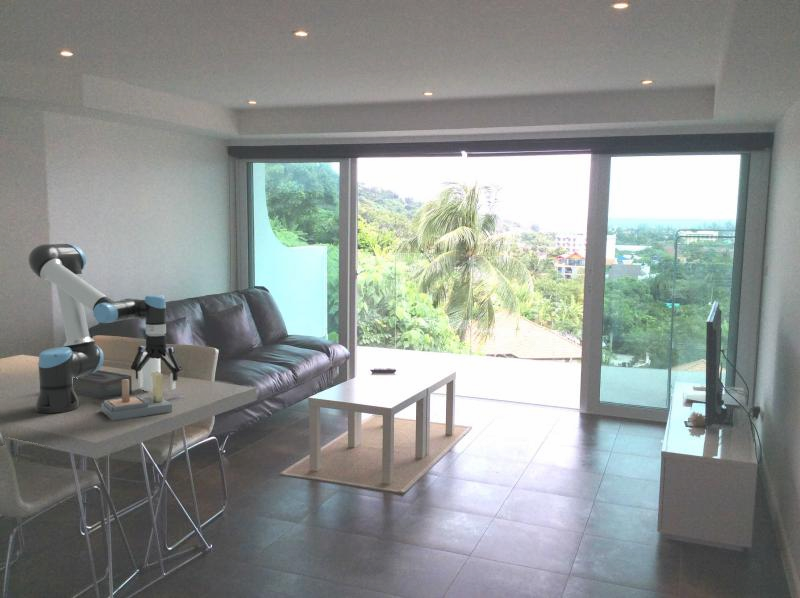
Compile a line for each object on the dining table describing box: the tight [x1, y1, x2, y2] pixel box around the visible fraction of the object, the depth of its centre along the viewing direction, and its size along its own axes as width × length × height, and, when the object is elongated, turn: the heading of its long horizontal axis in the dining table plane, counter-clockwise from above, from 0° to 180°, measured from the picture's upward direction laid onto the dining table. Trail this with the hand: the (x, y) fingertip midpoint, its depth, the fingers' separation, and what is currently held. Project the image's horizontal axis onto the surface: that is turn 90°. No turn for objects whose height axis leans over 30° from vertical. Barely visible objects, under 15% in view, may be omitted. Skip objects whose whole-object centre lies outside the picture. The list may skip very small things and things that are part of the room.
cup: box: [140, 351, 162, 392], centre depth 298 cm, size 8×8×16 cm
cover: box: [109, 378, 143, 407], centre depth 258 cm, size 10×10×10 cm
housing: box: [101, 395, 173, 422], centre depth 261 cm, size 22×16×4 cm
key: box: [147, 371, 164, 402], centre depth 268 cm, size 12×2×11 cm, turn 38°
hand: (156, 388), depth 266 cm, fingers open, 13 cm apart
